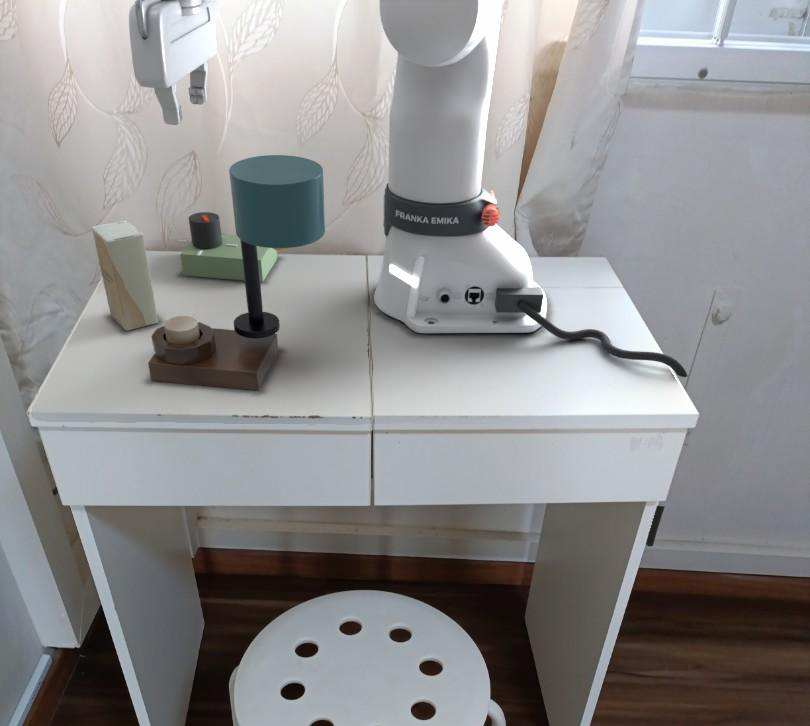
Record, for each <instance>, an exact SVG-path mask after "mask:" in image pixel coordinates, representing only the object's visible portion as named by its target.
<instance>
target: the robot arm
mask: <svg viewBox="0 0 810 726" xmlns="http://www.w3.org/2000/svg"><path fill="white" fill-rule="evenodd" d="M504 2H505V0H379V18H380V23H381V26H382V29H383V32H384V34H385V36H386V38H387V41H388V42H389V44H390V45H391V46H392V48H393V49H394V50H395V51H396V52H397V59H396V68H395V75H394V84H393V90H392V98H391V105H390V109H389V124H388V125H389V126H388V128H389V130H388V182H387V183H386V186H385V188H384V193H383V200H382V201H383V203H382V226H383V232H384V235H385V240H384V250H383V256H382V261H381V262H382V263H381V268H380V272H379V278H378V282H377V285H376V288H375V291H374V294H373V301H374V304H375V305H376V307H377V308H378V309H379V310H380V311H381V312H382V313H384V314H385V315H387V316H389V317H391V318H394V319H396V320H398V321H400V322H402V323H404V324H405V326H406V327H408V328H409V329H410V330H411V331H413V332H415V333H419V334H521V333H522V334H524V333H534V332H535V331H537V330H538V329H540V328H541V327H542V328H543V329H545V330H546V331H547V332H549V333H550V334H551V335H553V336H555V337H557V338H559V339H563V340H566V341H575V340H580V339H585V338H586V339H587V338H593V339H597V340H599V341H600V342H601V345H602V347H603V348H604V350H605V351H606V352H607V353H608V354H610V355H611V356H614V357H615V358H619V359H623V360H630V361H631V360H632V361H651V362H658V363H662V364H664V365H666V366H668V367H670V368H671V369H672V370H673V371H674V373H675V374H676V375H677V376H679V377H681V378H688V373H687V371H686V369H685V368H684V367H683V365H682V364H681V363H680V362H679V361H677V359H675V358H673V357H672V356H670V355H667V354H665V353H661V352H656V351H655V352H654V351H640V350H639V351H635V350H626V349H622V348H618V347H616V346H615V345H613V344H612V342H611V340H610V338H609V337H608V335H607V334H606V333H605V332H603V331H601V330H599V329H593V328H587V329H580V330H575V331H568V330H564V329H561V328H559V327H557V326H555V325H554V324H553V323H552V322H550V321H549V320H548V319H546V318H547V312H548V299H547V295H546V293H545V291H544V290H543V287H541V286H540V285H539V284H538V283H537V282H535V281H534V275H533V268H532V263H531V260H530V257H529V254H528V253H527V251H526V249H525V248H524V247H523V246H522V245H521V244H520V243H519V242H517V241H516V240H515V239H514V238H512V237H511V236H510V235H509V234H508V232H506V231H505V230H504V229H503V228H501V227H500V226H499V225H498V224H497V223H499V220H500V217H499V216H500V210H499V207H498V206H497V202H498V201H497V198H496V197H495V196H496V195H495V193H494V190H492V189H491V190H490V192H489V191H487V190H486V189H485V188H483V187H482V181H483V171H484V170H483V169H484V159H485V158H484V157H485V150H486V149H485V147H486V139H487V138H486V136H487V127H488V126H487V125H488V117H489V109H490V102H491V95H492V87H493V80H494V78H493V77H494V73H495V72H494V71H495V64H496V57H497V48H498V42H499V41H498V40H499V32H500V23H501V15H502V7H503V4H504ZM218 4H219V5H220V3H219V0H135V1H134V4H132V6H131V7H130V9H129V13H128V30H129V41H130V53H131V60H132V61H131V62H132V69H133V74H134V77H135V79H136V82H137V83H138V85H139V87H143V88H149V89H154V94H155V96H156V99H157V101H158V103H159V105H160V107H161V110H162V118H163V122H164V124H166V125H169V126H170V125H171V126H178V125H179V124H180V123H181V122H182V121H183V113H182V112H183V111H182V110H183V109H182V105H179V102H178V98H177V95H176V93H177V92H178V90H177V83H178V82H179V81H181V80H182V79H184V78H185V77H186V76H188V75H189V86H190V87H188V95H189V102H190V103H191V104H192V105H199V106H200V105H201V106H202V105H203V104H205V103H206V102H208V94H207V82H208V74H209V73H208V72H209V66H208V61H210V60H211V59H212V58H214V57H216V56H217V55H218V54H217V41H216V24H217V23H216V21H217V17H218ZM216 54H217V55H216ZM664 510H665V505H664V506H663V505H656V507H655V511H654V514H655V515H654V514H653V517H654V518H653V517H652V520H653V521H652V520H651V523H652V525H651V524H650V527H651V528H649V530H650V531H648V534H647V538H646V542H645V546H647V547H653V546H654V544H655V540H656V536H657V533H658V530H659V525H660V522H661V519H662V516H663V512H664Z"/></svg>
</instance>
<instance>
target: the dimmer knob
mask: <svg viewBox="0 0 810 726" xmlns="http://www.w3.org/2000/svg"><path fill="white" fill-rule="evenodd" d="M188 224H189V231H190V238H191V241H192V244H193V246H194V247H196V248H200V249H212V248H216V247H219V246H220V245H222V236H221V234H222V229H221V221H220V215H219V214H218V213H216V212H215V213H214V212H209V211H202V212H196V213H193V214H191V215H189V216H188Z"/></svg>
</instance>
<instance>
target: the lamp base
mask: <svg viewBox="0 0 810 726" xmlns="http://www.w3.org/2000/svg"><path fill="white" fill-rule="evenodd" d="M198 326H199V333H200V339H199V340H196V341H194V342H192V343H187V344H172V343H169V342H167V340H166V335H165V329H164V325H162V326H160V327H158V328H156V330H155V331H154V332H153V333H152V334H151V343H152V346H153V347H152V348H153V351H154V353H153V355H152V357H150V359H149V361H148V362H147V366H148V370H149V375H150V380H151V381H154V382H164V383H174V384H185V385H195V386H196V385H197V386H208V387H217V388H218V387H219V388H229V389H238V390H248V391H249V390H250V391H259V390H260V388H261V386H262V384H263V382H264V381H265V378H266V377H267V374H268V373H269V370H270V368H271V366H272V364H273V362H274V360H275V358H276V356H277V354H278V352H279V345H278V334H277V333H275V334H274V335H272V336H269V337H265V338H246V337H243V336H240V335H238V334H237V333H236V332H235V330H234V329H227V328H226V329H225V328H214V327H211V326H209V325H207V324H205V323H203V322H200V321H198Z"/></svg>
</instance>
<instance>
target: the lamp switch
mask: <svg viewBox="0 0 810 726" xmlns="http://www.w3.org/2000/svg"><path fill="white" fill-rule="evenodd" d="M198 322H199V321H198V319H197V318H195V317H193V316H190V315H189V316H188V315H178V316H173V317H170V318H168V319H166V320H165V321H164V323H163V326H164V329H165V335H166V340H167V342H169V343H172V344H187V343H192V342H194V341H196V340H199V339H200V333H199V326H198Z"/></svg>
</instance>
